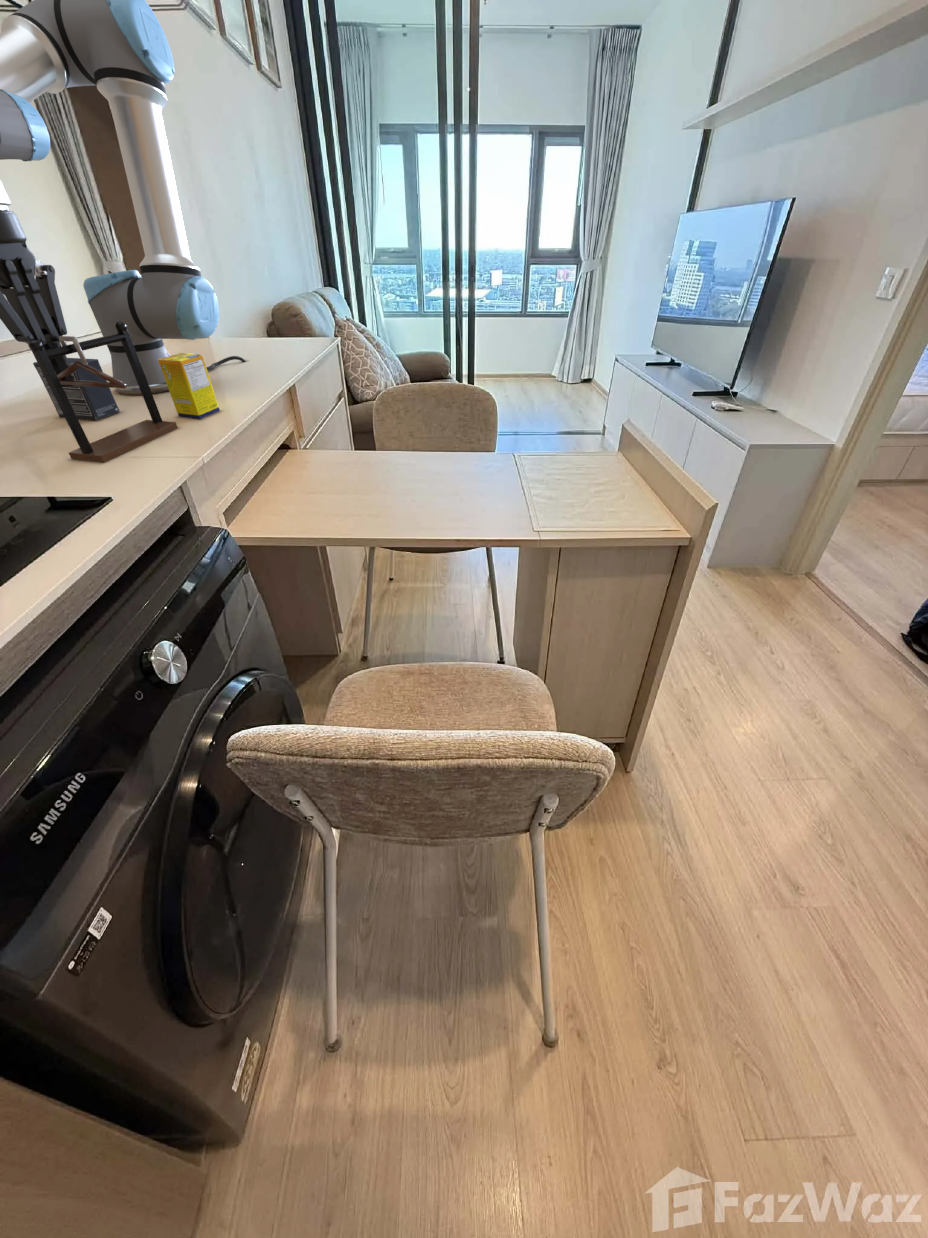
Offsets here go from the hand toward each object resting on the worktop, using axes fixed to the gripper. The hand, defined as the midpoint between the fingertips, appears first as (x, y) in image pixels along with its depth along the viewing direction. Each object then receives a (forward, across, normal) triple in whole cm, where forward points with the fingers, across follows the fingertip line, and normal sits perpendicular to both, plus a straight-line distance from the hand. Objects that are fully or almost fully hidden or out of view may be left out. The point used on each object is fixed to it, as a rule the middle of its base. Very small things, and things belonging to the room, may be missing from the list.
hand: (66, 385), depth 87 cm
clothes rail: (+10, -1, +6) cm, 12 cm away
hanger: (0, +1, +7) cm, 7 cm away
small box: (+10, -14, -15) cm, 23 cm away
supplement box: (+10, -19, +8) cm, 23 cm away
